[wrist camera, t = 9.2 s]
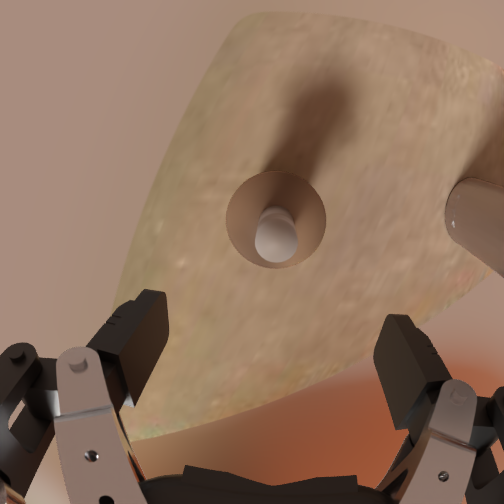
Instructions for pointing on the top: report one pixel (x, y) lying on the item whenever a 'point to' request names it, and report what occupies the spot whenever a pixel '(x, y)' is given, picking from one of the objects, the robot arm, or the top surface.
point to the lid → (276, 219)
